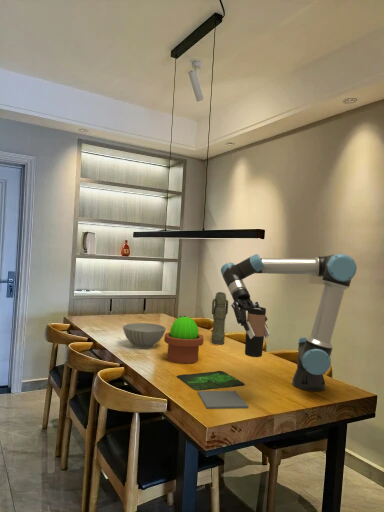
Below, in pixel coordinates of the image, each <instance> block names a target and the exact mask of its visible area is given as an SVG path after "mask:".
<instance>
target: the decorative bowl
mask: <svg viewBox="0 0 384 512" xmlns="http://www.w3.org/2000/svg"><path fill="white" fill-rule="evenodd" d="M122 329H123V334H124V336H125V337H126V339H127V340H128V342H129V343H131V344H133V347H135V348H136V349H137V348H138V349H152V348H153V347H154V346H155V345H156V344H157V343H159V342H160V341H161V340H162V338H163V336H165V334H166V333H165V332H166V329H167V328H166V327H165V326H164V325H160V324H157V323H156V324H155V323H145V322H143V323H142V322H133V323H126V324H124V325H122Z"/></svg>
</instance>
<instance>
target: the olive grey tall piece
mask: <svg viewBox="0 0 384 512" xmlns="http://www.w3.org/2000/svg"><path fill="white" fill-rule="evenodd" d="M211 304H212V305H211V315H212V319H213V324H212V332H211V344H212V345H216V346H219V345H220V346H223V345H224V344H225V335H226V333H225V325H226V324H225V323H226V317H227V315H228V313H229V312H228V311H229V300H228V299H227V295H226V293H225V292H221V291H220V292H216V294H215V296H214V299H212V303H211Z"/></svg>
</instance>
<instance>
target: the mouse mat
mask: <svg viewBox="0 0 384 512" xmlns="http://www.w3.org/2000/svg"><path fill="white" fill-rule="evenodd" d="M176 378H177V380H178V379H179V380H180V381H181V382H183V383H184V384H185V385H187V387H189V388H191V389H192V390H194V391H197V392H198V391H210V390H216V389H224V388H234V387H240V386H245V382H243V381H241V380H239V379H238V378H236V377H234V376H232V375H230V374H228V373H226V371H224V370H223V371H222V370H216V371H207V372H200V373H199V372H198V373H189V374H188V373H186V374H185V373H183V374H178V375H176Z"/></svg>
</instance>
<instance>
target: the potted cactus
mask: <svg viewBox="0 0 384 512" xmlns="http://www.w3.org/2000/svg"><path fill="white" fill-rule="evenodd" d="M171 323H172V325H171V327H170V329H169V330H170V331H169V332H166V333H164V340H163V341H164V343H165V344H167V355H166V357H167V360H168V361H169V362H171V363H177V364H194V363H197V362H198V360H199V351H200V350H199V349H200V347H201V346H203V344H204V336H203V335H202V334H200V333H199V332H200V331H199V327H198V324H197V323H196V322H195V319H193V318H191V317H189V316H186V315H179V316H178V317H177V318H176V319H175V320H174V322H171Z"/></svg>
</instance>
